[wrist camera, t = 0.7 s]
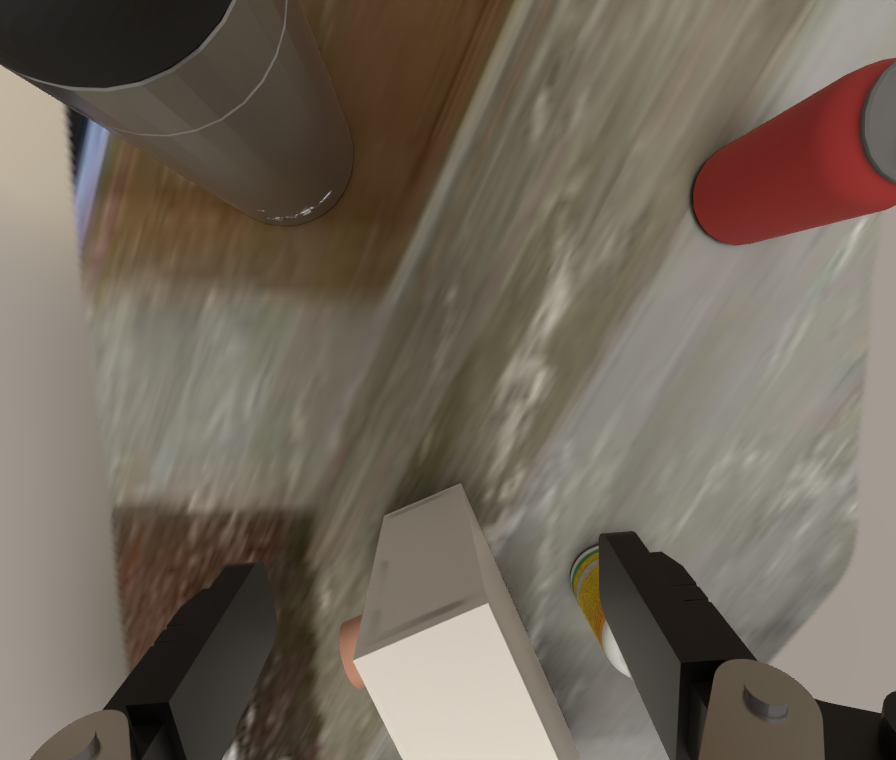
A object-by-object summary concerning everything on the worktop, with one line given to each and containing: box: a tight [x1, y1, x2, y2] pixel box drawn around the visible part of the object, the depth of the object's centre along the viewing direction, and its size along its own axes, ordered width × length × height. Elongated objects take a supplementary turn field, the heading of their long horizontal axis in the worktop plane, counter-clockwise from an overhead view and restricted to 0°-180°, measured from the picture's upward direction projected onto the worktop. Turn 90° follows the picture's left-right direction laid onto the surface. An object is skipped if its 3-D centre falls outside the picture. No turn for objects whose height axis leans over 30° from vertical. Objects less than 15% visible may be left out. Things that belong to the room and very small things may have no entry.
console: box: [353, 483, 580, 760], centre depth 27 cm, size 22×6×14 cm, turn 23°
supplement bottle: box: [570, 546, 635, 683], centre depth 29 cm, size 5×5×10 cm
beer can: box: [693, 58, 896, 245], centre depth 25 cm, size 7×7×12 cm
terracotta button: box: [339, 614, 365, 689], centre depth 24 cm, size 3×4×3 cm
